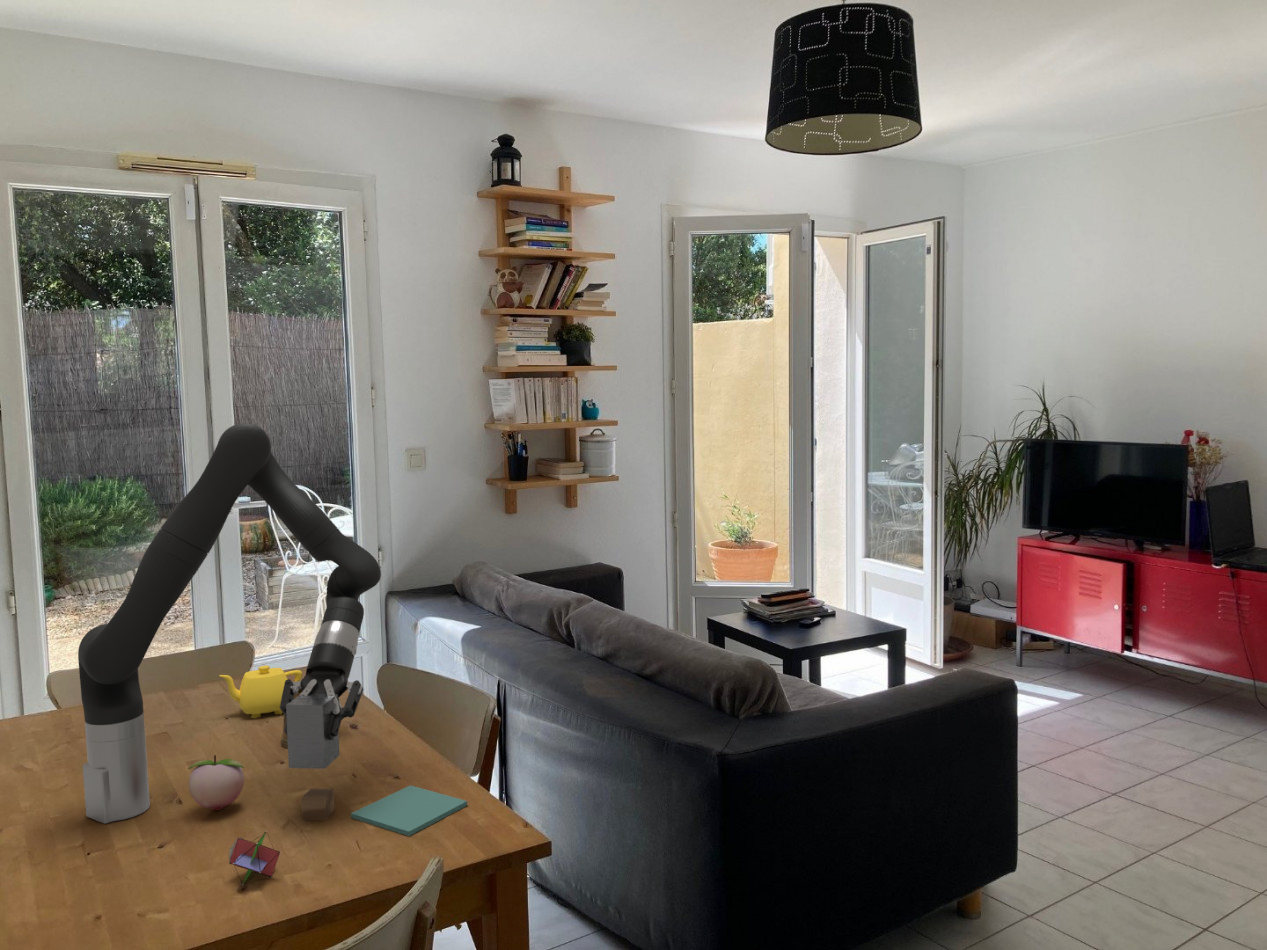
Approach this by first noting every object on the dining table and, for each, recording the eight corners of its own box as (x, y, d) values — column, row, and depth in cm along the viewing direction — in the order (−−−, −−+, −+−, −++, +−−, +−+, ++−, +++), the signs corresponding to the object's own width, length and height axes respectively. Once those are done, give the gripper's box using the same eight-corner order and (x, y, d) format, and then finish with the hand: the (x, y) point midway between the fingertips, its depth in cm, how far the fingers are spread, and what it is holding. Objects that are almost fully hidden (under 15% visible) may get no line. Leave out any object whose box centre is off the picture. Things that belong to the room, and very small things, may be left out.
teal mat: (409, 836, 164) (408, 831, 164) (351, 817, 172) (350, 813, 172) (467, 805, 176) (467, 801, 176) (410, 789, 183) (410, 785, 183)
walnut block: (325, 820, 171) (324, 798, 171) (302, 820, 171) (301, 797, 171) (334, 810, 175) (333, 788, 175) (312, 810, 175) (311, 788, 175)
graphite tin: (325, 768, 169) (322, 705, 168) (288, 767, 169) (286, 704, 169) (339, 755, 175) (337, 694, 174) (304, 754, 176) (301, 693, 175)
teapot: (223, 725, 221) (220, 678, 220) (219, 711, 231) (216, 666, 230) (307, 712, 229) (305, 667, 228) (300, 699, 239) (298, 655, 238)
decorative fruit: (185, 824, 171) (181, 767, 170) (193, 805, 179) (189, 751, 178) (243, 816, 173) (240, 760, 172) (248, 798, 181) (245, 744, 180)
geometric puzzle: (297, 852, 155) (263, 813, 154) (283, 873, 148) (247, 833, 147) (261, 880, 155) (227, 842, 154) (245, 903, 148) (210, 862, 147)
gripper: (288, 640, 179) (261, 726, 168) (366, 641, 178) (343, 728, 167) (302, 661, 185) (276, 746, 174) (377, 662, 183) (356, 748, 172)
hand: (309, 737), depth 170 cm, fingers closed on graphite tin, 6 cm apart
